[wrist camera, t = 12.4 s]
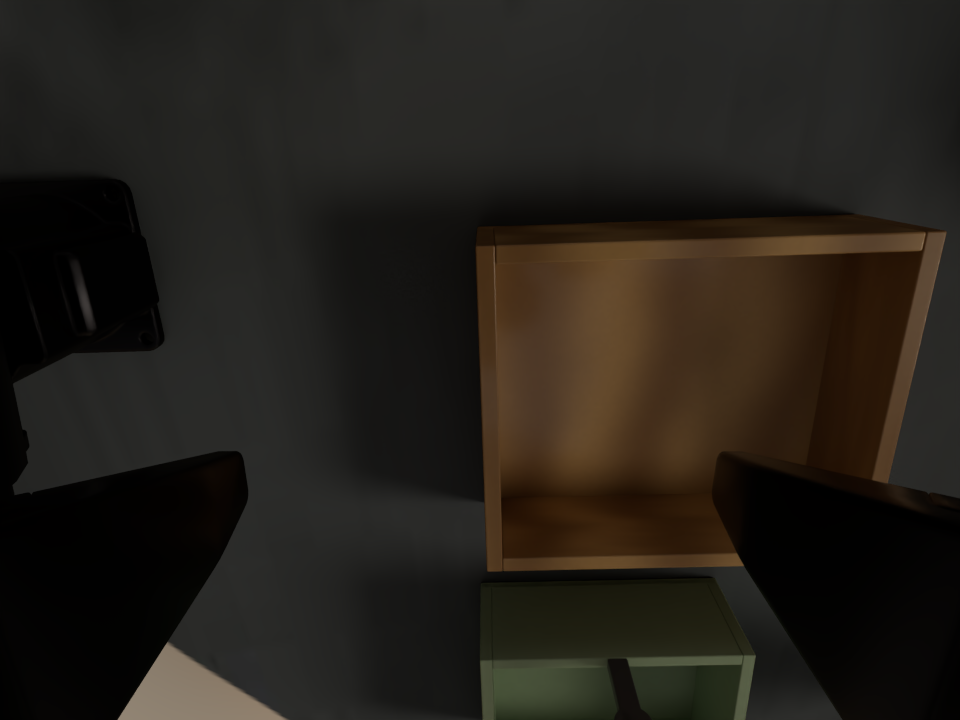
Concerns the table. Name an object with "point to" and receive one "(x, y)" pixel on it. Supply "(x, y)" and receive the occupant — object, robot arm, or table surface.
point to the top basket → (612, 651)
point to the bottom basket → (683, 373)
